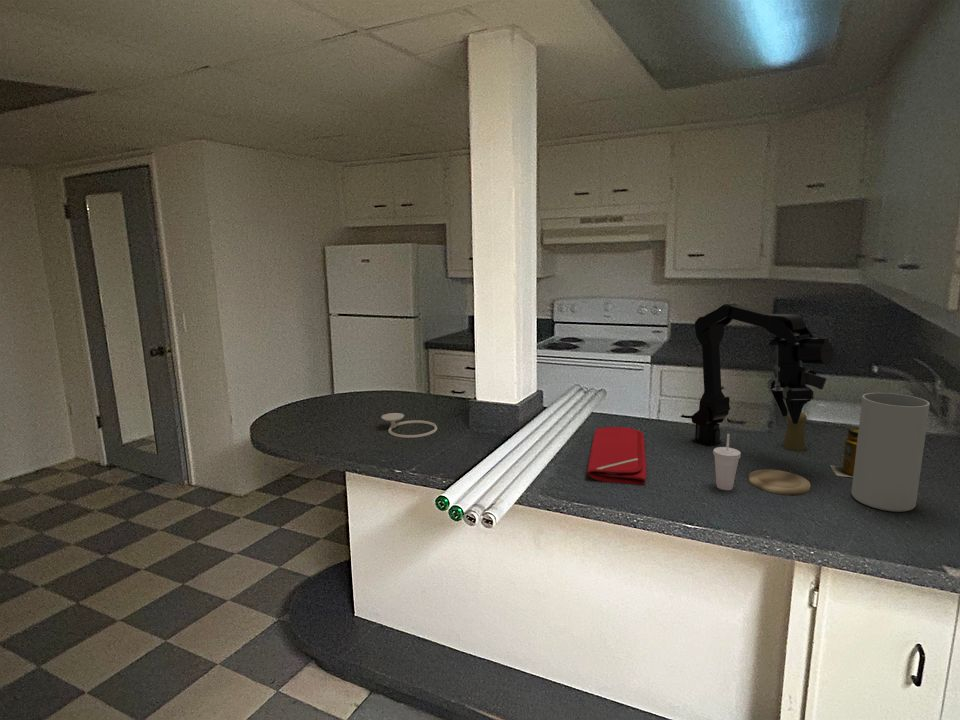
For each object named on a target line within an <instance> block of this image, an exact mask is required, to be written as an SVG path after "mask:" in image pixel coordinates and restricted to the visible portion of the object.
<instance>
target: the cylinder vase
mask: <svg viewBox="0 0 960 720" xmlns="http://www.w3.org/2000/svg"><path fill="white" fill-rule="evenodd" d="M860 405H861V407H860V415H859V424H858V428H859V431H858V439H857V448H856V457H855V466H854V475H853V477H852V486H851V495H852V497H853V498H854V499H855V500H856V501H857V502H858V503H860V504H863V505H865V506H868V507H871V508H874V509H878V510H881V511H886V512H887V511H888V512H894V513H895V512H896V513H897V512H898V513H902V512H910V511H912V510H913V509H914V508H916V506H917V499H918V492H919V486H920V485H919V484H920V478H921V470H922V464H923V463H922V462H923V455H924V448H925V441H926V434H927V426H928V419H929V418H928V417H929V412H930V401H928V400H926V399H924V398H921V397H916V396H913V395H907V394H901V393H899V394H898V393H891V392H868V393H864V394H863V395H862V397H861V404H860Z"/></svg>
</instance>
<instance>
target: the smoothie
mask: <svg viewBox="0 0 960 720" xmlns="http://www.w3.org/2000/svg"><path fill="white" fill-rule="evenodd" d="M730 437H731V435H730V433H727V434H726V445H725V446H717V447H715V448H714V449H713V452H712V454H713V455H714V467H715V479H716V480H715V481H716V488H717V489H719V490H723V491H731V490H732V489H733V487H734V483H735V478H736V475H737V474H736V473H737V470H738V463H739V460H740V458H741V455H742V454H741V453H742V452H741V451H740V450H738V449H736V448H732V447H730Z"/></svg>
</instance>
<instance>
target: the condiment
mask: <svg viewBox="0 0 960 720" xmlns="http://www.w3.org/2000/svg"><path fill="white" fill-rule="evenodd" d="M858 431H859V427H852V428H849V429H848V432H847V435H846V436H847V438H845V441H844V451H843V457H842V458H843V460H842V466H838V465H831V464H830V465H829V466H830V468H831V470H832V472H833V473H834V474H835V475H836V477H843V478H844V477H847V478H853V475H854V466H855V457H856V448H857V439H858Z"/></svg>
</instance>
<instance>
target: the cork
mask: <svg viewBox="0 0 960 720" xmlns="http://www.w3.org/2000/svg"><path fill="white" fill-rule="evenodd" d="M807 420H808V417H807V415H806V414H805V413H804V412H802V411H801V414H800V417H799V420H798V423H797V424H793V423H792V421H791V418H790V416H789V413H788V412H787V416H786V421H788V423H787V427H786V431H785V434H784V440H783V443H782V447H783V448H784V449H786V450H790V451H797V452H802V451H805V450H806V436H805V435H806V434H805V432H806V431H805V423H807Z"/></svg>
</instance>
